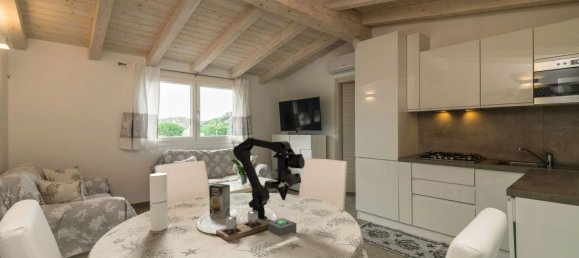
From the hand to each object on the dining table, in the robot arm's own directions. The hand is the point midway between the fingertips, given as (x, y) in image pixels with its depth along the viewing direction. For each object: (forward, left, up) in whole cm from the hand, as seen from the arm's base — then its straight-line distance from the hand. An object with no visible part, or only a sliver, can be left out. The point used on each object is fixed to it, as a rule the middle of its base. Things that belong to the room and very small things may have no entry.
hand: (283, 199), depth 128 cm
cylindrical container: (-35, -46, -11) cm, 59 cm away
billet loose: (-3, -16, -10) cm, 19 cm away
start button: (+8, -8, -9) cm, 14 cm away
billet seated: (-3, -27, -10) cm, 28 cm away
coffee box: (-32, -17, -11) cm, 38 cm away
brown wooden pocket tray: (-3, -21, -11) cm, 24 cm away
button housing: (+8, -8, -11) cm, 16 cm away
